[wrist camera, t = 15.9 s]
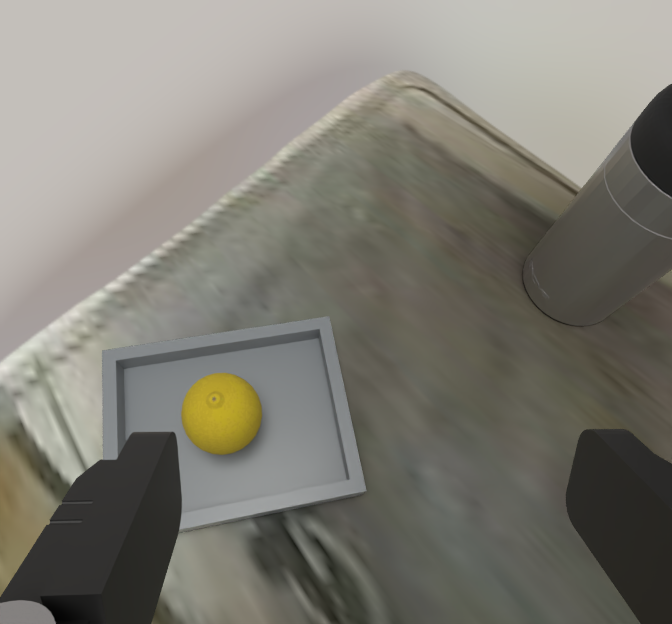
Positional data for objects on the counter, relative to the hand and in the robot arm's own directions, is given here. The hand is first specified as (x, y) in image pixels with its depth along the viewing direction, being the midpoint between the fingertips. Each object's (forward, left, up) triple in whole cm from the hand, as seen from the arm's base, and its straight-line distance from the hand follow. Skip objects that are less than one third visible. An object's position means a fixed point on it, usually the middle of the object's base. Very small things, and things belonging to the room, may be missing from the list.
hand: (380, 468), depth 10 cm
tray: (+5, -9, -31) cm, 32 cm away
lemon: (+5, -9, -30) cm, 31 cm away
